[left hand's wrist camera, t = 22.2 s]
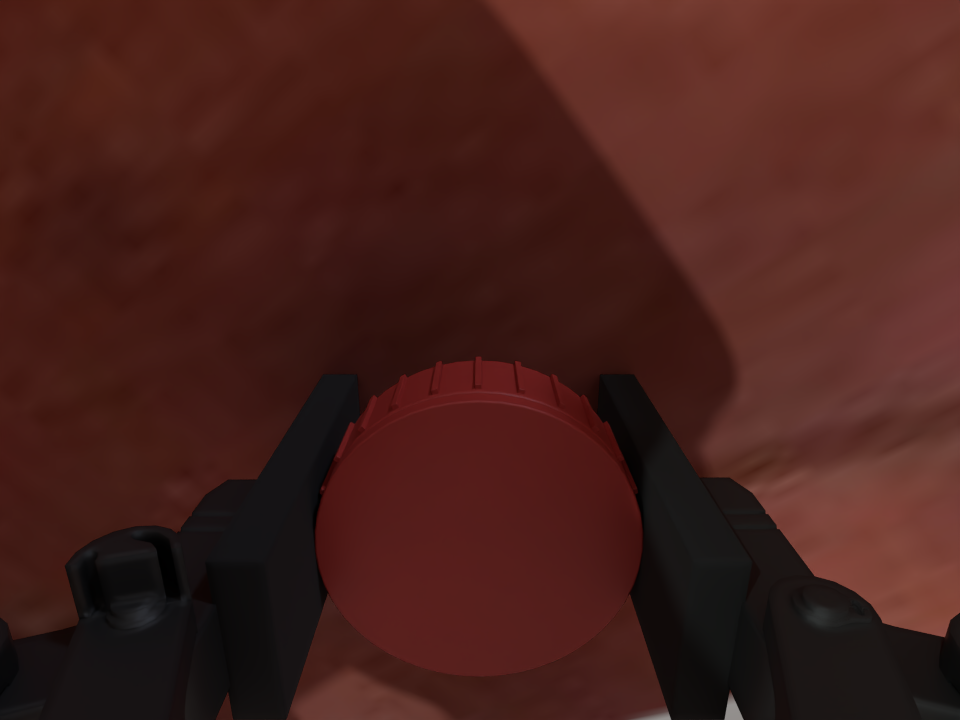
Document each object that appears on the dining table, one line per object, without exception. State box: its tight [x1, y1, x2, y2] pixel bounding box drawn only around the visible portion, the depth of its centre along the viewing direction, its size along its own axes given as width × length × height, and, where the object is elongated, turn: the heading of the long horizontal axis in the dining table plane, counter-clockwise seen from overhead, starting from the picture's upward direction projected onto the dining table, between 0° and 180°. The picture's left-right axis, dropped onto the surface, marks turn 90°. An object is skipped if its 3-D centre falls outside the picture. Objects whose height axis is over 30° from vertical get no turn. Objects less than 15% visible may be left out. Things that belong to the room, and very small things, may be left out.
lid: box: [314, 357, 643, 677], centre depth 11 cm, size 6×6×2 cm
